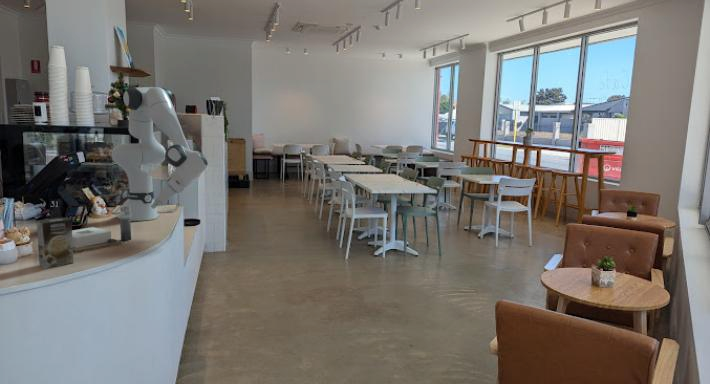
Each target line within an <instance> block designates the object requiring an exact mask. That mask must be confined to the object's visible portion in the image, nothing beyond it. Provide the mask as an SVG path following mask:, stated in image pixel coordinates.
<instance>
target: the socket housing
mask: <svg viewBox="0 0 710 384" xmlns="http://www.w3.org/2000/svg"><path fill="white" fill-rule="evenodd" d="M108 239H112V232H111V231H109V230H107V229H103V228H99V227H96V226H95V227H94V226H92V227H91V226H90V227H87V228H86V227H85V228H80V229H74V230H73V229H72V242H73V247H75V248H79V247H84V246H89V245H94V244H99V243H104V242H108Z"/></svg>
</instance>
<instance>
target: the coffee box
mask: <svg viewBox="0 0 710 384" xmlns="http://www.w3.org/2000/svg"><path fill="white" fill-rule="evenodd" d="M44 219H45V218H44ZM44 219H39V220H36V227H37V228H36V229H37V230H36V231H37V245H38V264H39V265H40V267H43V268H44V267H45V269H48V267H50V268H54V267H53V266H55V267H59V266H58V265H61V266H65V265H64V264H66V265H70V264H69V263H71V264H74V252H73V242H72V230H73V225H72V219H70V218H68V217H58V218H57V217H56V218H53V219H45V220H44Z"/></svg>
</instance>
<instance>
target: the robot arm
mask: <svg viewBox="0 0 710 384" xmlns="http://www.w3.org/2000/svg"><path fill="white" fill-rule="evenodd" d="M173 97H174V96H173V94H172V92H171V90H170V89H168V88H165V87H159V86H147V87H146V86H142V87H141V86H140V87H135V86H132V87H128V88H126V89H125V90H124V93H123V103H124V105H125V107H126V108H127V109H128V110H129V111H128V113H129V114H128V132H129V134H130V135H131V136H132V137H133V138H135V139H137V140H140V143H123V144H122V143H121V144H118V145H115V146H114V147H113V149H112V150H111V158H112V160H113V162H114V163H115V164H116V165H118V166H119V167H121V168H122V169H123V170H124V172H125V174H126V176H127V178H128V187H129V191H128V193H127V200H125V201H124V203H122V204H121V206H120V213H119V214H118V213H117V214H116V215H115V217H116V218H118V219H120V217H123V216H130V222H137V221H138V222H142V221H151V220H156V219H158V217H160V214H159V213H158V208H157V207H158V206H159V205H160V204H165V203H166V202H168V201H169V200H170V199H172V198H173V197H174V196H175V195H177V194H180V193H183V192H184V191H185V190H186V189H187V188H188V187H189V186H190V185H191V184H192V183H193V181H194V180H197V179H198V178H199V177H200V175H201V174H203V172H204V171H205V170H206V169H207V167H208V165H209V163H208V160H207V158H206V157H205V155H204V154H203V153H201V151H199V150H192V148H191V147H190V144H189V142H188V140H187V137H186V135H185V133H184V131H183V128H182V125H181V124H180V121H179V119H178V116H177V113H176V110H175V107H174V105H173V102H174V98H173ZM154 125H155V127H157V128H158V129H159V130H160V131H161V132H163V133H164V134H165V135H166V136H167V137H168V138H169V140H170V141H171V142H172V145H170V146H169V147H168V148H167V149H166V148H165V147H164V146H163V145H162V144H161V143H160V142H159V141H157V139H156V137H155V135H154ZM165 161H166V163H168V164H169V165H170V166H172V168H173V167H174V168H175V169H174V171H172V172H171V173H170V174H169V175H168V177H166V182H165V184H166V185H164V187H163V188H162V190H161V191H160V192H159V194H158V195H157V196H156V199H154V198H155V191H154V190H153V189H154V187H153V186H154V185H153V177H152V175H151V174H150V173H148V172H146V171H144V170H141V168H140V166H141V165H142V166H145V165H157V164H161V163H163V162H165Z"/></svg>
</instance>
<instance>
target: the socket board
mask: <svg viewBox="0 0 710 384" xmlns="http://www.w3.org/2000/svg"><path fill="white" fill-rule="evenodd" d="M119 245H122V241H121V240H117V239H116V238H111V239H108V242H104V243H99V244H94V245H89V246H84V247H79V248H75V247H73V254H74V253H75V254H79V252H80V253H84V251H85V252H89V250H90V251H93V250H94V249H95V250H99V248H100V249H104V248H108V247H114V246H119Z"/></svg>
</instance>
